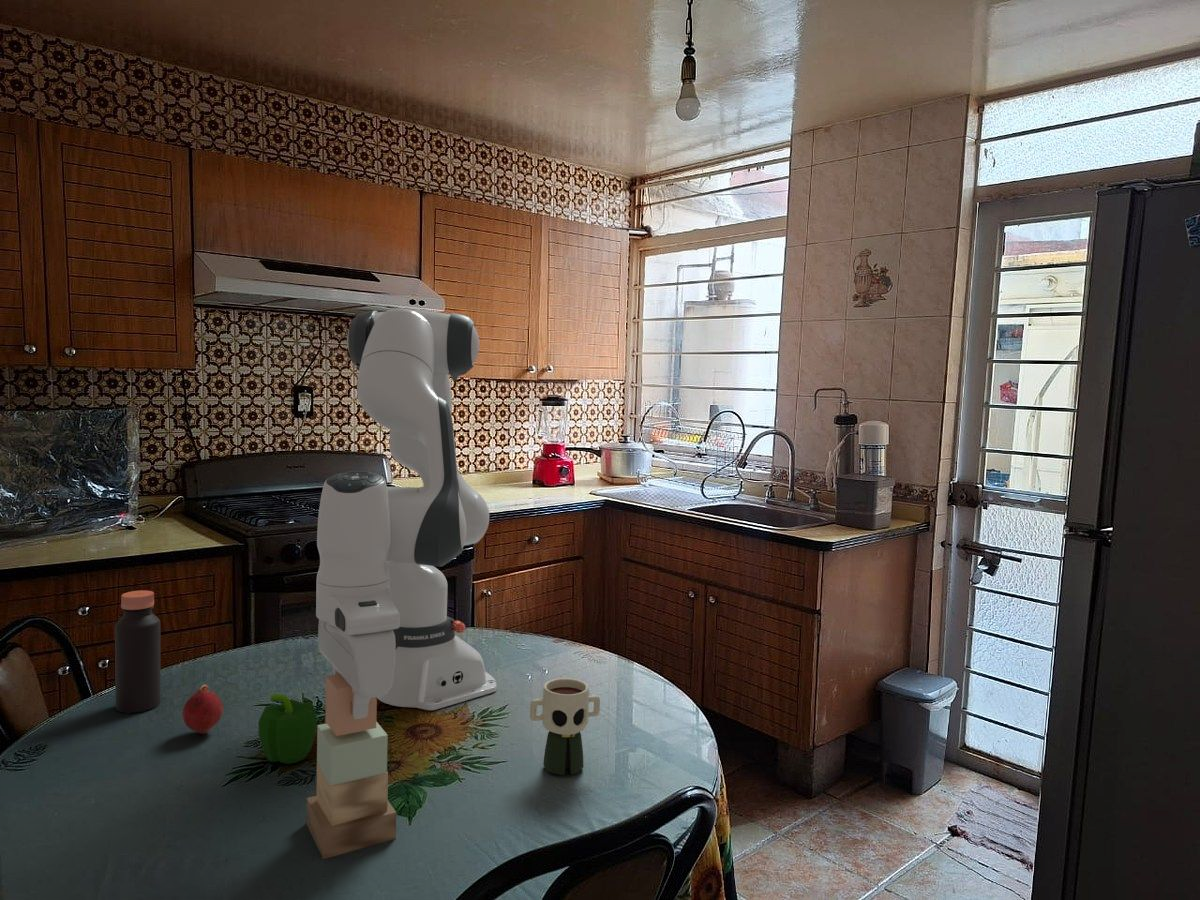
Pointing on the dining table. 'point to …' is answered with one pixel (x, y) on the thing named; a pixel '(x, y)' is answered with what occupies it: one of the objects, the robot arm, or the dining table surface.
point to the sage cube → (351, 754)
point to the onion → (202, 710)
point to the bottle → (137, 654)
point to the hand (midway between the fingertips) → (351, 707)
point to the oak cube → (352, 797)
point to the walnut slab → (349, 830)
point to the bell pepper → (287, 730)
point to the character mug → (564, 722)
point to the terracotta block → (345, 708)
